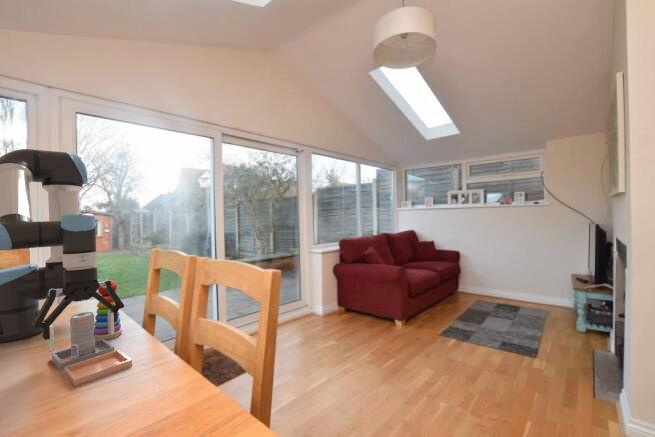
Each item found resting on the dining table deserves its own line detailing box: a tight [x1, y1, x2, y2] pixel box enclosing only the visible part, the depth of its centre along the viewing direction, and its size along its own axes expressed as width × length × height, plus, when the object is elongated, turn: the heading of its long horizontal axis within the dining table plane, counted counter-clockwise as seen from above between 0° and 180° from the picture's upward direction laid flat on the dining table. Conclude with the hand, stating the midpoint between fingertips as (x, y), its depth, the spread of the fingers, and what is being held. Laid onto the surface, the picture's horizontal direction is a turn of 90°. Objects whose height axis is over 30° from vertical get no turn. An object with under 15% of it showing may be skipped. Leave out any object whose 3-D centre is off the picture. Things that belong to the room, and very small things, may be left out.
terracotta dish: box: [63, 349, 133, 388], centre depth 78 cm, size 10×12×2 cm
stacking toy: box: [94, 279, 123, 341], centre depth 100 cm, size 8×8×19 cm
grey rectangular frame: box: [51, 339, 115, 371], centre depth 86 cm, size 10×12×2 cm
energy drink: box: [69, 311, 97, 360], centre depth 86 cm, size 5×5×12 cm
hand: (83, 341), depth 86 cm, fingers open, 13 cm apart
